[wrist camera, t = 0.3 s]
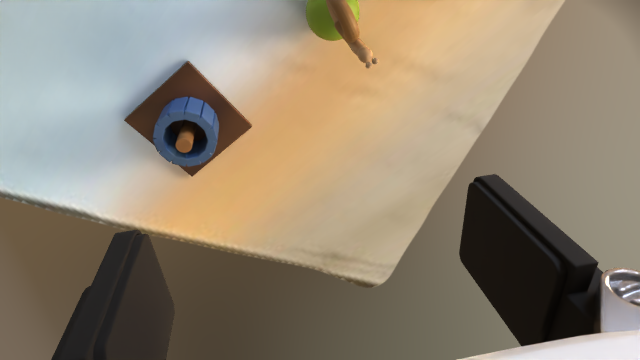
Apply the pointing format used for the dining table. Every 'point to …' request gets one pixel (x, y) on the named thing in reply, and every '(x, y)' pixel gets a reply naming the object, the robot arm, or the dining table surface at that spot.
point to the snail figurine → (338, 24)
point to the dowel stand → (198, 87)
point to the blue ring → (167, 139)
